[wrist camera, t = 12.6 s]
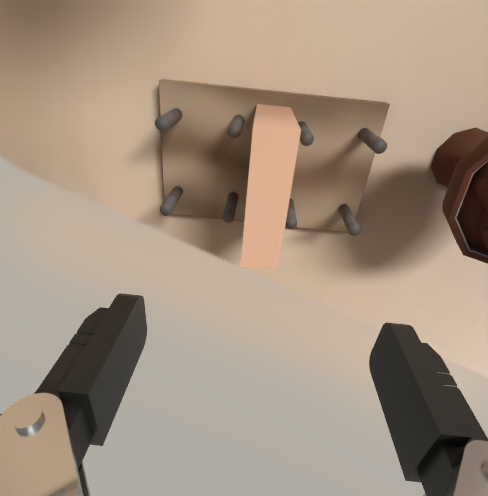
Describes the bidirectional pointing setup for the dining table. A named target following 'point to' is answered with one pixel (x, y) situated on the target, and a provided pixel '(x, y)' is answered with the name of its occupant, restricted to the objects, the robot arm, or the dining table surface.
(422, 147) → the dining table surface
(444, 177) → the ice cream bowl
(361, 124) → the dish rack
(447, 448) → the robot arm
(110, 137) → the dining table surface
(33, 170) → the dining table surface
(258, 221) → the peach chamfered block
